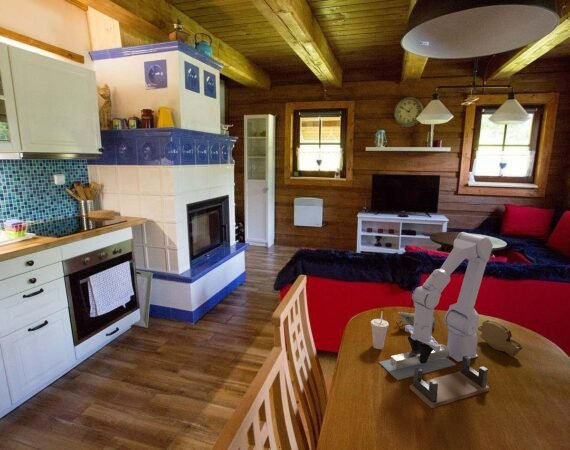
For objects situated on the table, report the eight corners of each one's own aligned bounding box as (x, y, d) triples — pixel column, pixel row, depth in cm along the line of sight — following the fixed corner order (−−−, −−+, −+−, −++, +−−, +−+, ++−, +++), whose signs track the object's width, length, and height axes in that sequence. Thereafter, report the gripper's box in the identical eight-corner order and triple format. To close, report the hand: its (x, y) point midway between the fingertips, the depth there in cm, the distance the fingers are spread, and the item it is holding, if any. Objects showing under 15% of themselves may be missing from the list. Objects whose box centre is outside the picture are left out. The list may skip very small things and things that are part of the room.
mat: (434, 350, 127) (434, 349, 127) (455, 365, 118) (455, 364, 118) (378, 362, 119) (378, 361, 119) (397, 380, 110) (397, 379, 110)
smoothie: (387, 352, 126) (390, 316, 123) (369, 350, 127) (371, 314, 124) (386, 342, 132) (388, 308, 129) (369, 341, 133) (371, 307, 130)
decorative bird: (437, 332, 141) (439, 314, 139) (398, 332, 141) (399, 314, 139) (431, 325, 146) (433, 309, 145) (394, 325, 146) (395, 309, 144)
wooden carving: (523, 358, 122) (527, 332, 120) (515, 361, 120) (519, 335, 118) (480, 336, 137) (483, 313, 135) (472, 339, 135) (475, 315, 133)
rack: (464, 373, 114) (466, 354, 112) (488, 390, 105) (491, 370, 104) (409, 388, 106) (411, 367, 105) (431, 408, 98) (433, 386, 97)
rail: (442, 351, 122) (442, 344, 122) (448, 356, 120) (449, 348, 119) (390, 364, 115) (390, 356, 114) (396, 369, 112) (396, 361, 112)
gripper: (398, 315, 120) (396, 350, 123) (429, 335, 107) (425, 374, 109) (415, 312, 122) (412, 347, 125) (447, 331, 109) (443, 370, 112)
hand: (419, 359), depth 117 cm, fingers closed on rail, 3 cm apart
